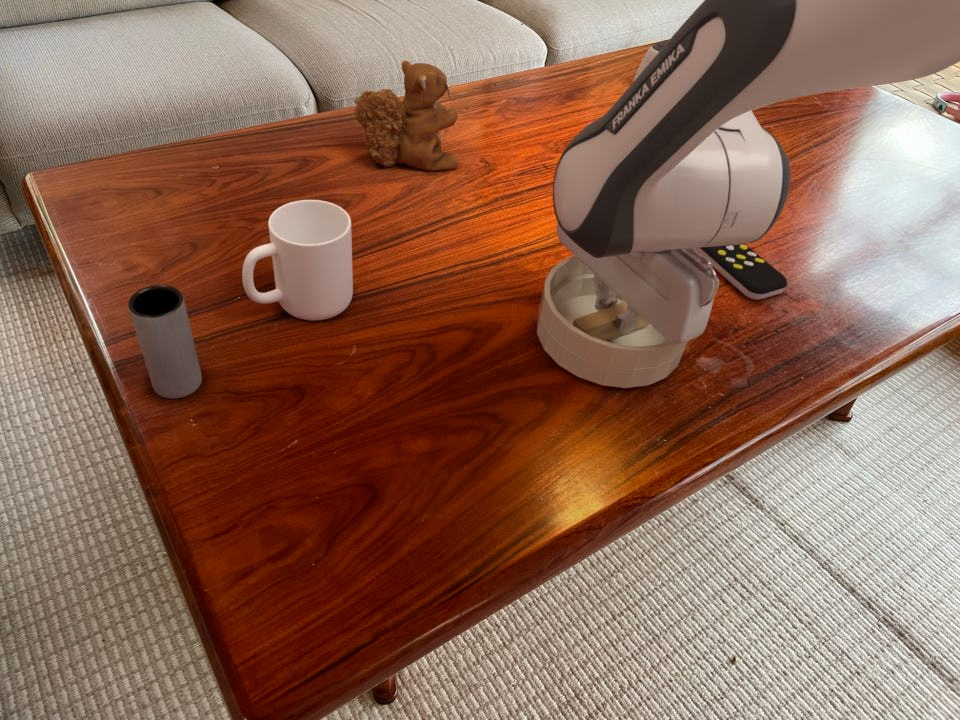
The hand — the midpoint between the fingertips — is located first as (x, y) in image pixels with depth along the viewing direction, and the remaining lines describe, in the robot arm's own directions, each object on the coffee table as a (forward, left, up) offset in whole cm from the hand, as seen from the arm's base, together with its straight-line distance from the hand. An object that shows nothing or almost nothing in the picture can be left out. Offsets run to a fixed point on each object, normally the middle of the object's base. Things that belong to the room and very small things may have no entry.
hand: (613, 319), depth 80 cm
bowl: (0, 0, -3) cm, 3 cm away
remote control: (+3, -24, -3) cm, 24 cm away
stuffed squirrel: (+44, +2, -3) cm, 44 cm away
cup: (+20, +28, -3) cm, 34 cm away
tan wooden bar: (0, 0, -2) cm, 2 cm away
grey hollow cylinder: (+14, +43, -3) cm, 45 cm away
